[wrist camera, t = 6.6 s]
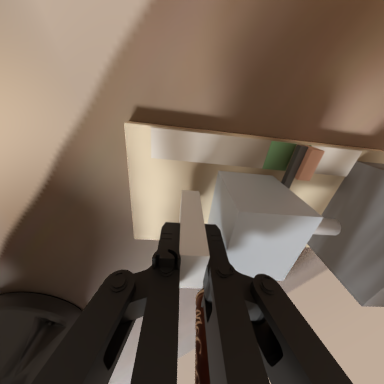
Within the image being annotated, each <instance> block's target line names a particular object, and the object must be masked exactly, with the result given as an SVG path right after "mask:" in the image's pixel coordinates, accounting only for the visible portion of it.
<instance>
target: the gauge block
mask: <svg viewBox="0 0 384 384" xmlns="http://www.w3.org/2000/svg"><path fill="white" fill-rule="evenodd" d="M307 150H308V146H305V145H297V146H296V148H295V150H294V153H293V155H292V157H291V160H290V162H289V165H288V167H287V169H286V172H285V174H284V176H283V179H282V181H281V182H280V181H279V180H277V179H276V178H275V177H274V176H271V175H260V174H249V173H238V172H227V171H218V175H217V180H216V185H215V189H214V194H213V199H212V204H211V209H210V214H209V219H208V224H216V225H217V226H218V228H219V229H220V231H221V235H222V238H223V242H224V245H225V249H226V253H227V256H228V260H229V262H230V264H231V265H232V266H233V267H234V269H235V270H236V271H238V272H239V273H241V274H244V275H247V276H250V277H253V278H254V277H255V275H257V274H266V275H269V276H270V277H272V278H273V279H275V280H276V281H283V280H284V279H285V277H286V275H287V274H288V272H289V271H290V269H291V268H292V266H293V265H294V263H295V261H296V260H297V258H298V257H299V255H300V254H301V252H302V251H303V249H304V247H305V246H306V244H307V243H308V241H309V240H310V238H311V237H312V235H313V234H317V235H338V234H339V233H340V231H341V225H340V223H339V222H338V221H337V220H335V219H329V218H324V217H323V216H321V215H320V214H319V213H318V212H316V211H315V210H314V209H313V208H312V207H310V206H309V205H308V204H307V203H305V202H304V201H303V200H302V199H301V198H299V197H298V196H297V195H296V194H294V193H293V192H292V191H291V190H290V186H291V184H292V182H293V180H294V178H295V176H296V173H297V171H298V169H299V167H300V165H301V163H302V160H303V158H304V156H305V154H306V152H307Z"/></svg>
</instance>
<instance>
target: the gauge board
mask: <svg viewBox="0 0 384 384" xmlns="http://www.w3.org/2000/svg"><path fill="white" fill-rule="evenodd" d="M124 128H125V140H126V151H127V163H128V174H129V186H130V197H131V209H132V221H133V232H134V239H145V240H159V239H160V234H161V229H162V226H163V225H164V224H165V222H175V223H179V217H180V205H181V194H182V190H190V191H199V193H200V199H201V205H202V212H203V218H204V224H208V219H209V214H210V209H211V204H212V199H213V194H214V189H215V185H216V180H217V175H218V171H227V172H238V173H249V174H260V175H271V176H274V177H275V178H276V179H277V180H279V181H280V182H281V181H282V179H283V176H284V174H285V171H286V169H287V166H288V164H289V162H290V159H291V157H292V155H293V152H294V150H295V147H296V145H297V144H300V145H309V146H312V147H314V148H317V149H320V150H323V151H325V152H324V154H323V156H322V158H321V160H320V162H319V164H318V166H317V168H316V170H315V172H314V174H313V176H312V177H311V179H310V181H304V180H297V179H296V178H294V180H293V182H292V184H291V186H290V190H291V191H292V192H293V193H294V194H296V195H297V196H298V197H299V198H301V199H302V200H303V201H304V202H305V203H307V204H308V205H309V206H310V207H312V208H313V209H314V210H315V211H316V212H318V213H319V214H320V215H321V216H323V217H324V218H329V219H335V220H337V221H338V222H339V223H340V225H341V231H340V233H339V234H338V235H317V234H313V235H312V237H311V238H310V240H309V241H308V243H307V244H306V246H305V247H309V248H311V249H312V250H313V251H314V252H315V254H316V255H317V256H318V257H319V258H320V259H321V260H322V262H323V263H324V264H325V265H326V266H327V267H328V268H329V270H330V271H331V272H332V273H333V274H334V275H335V276H336V278H337V279H338V280H339V281H340V282H341V283H342V284H343V286H344V287H345V288H346V289H347V290H348V291H349V292H350V294H351V295H352V296H353V297H354V298H355V299H356V300H357V301H358V303H359V304H360V305H361V306H376V307H378V306H379V307H384V151H382V150H377V149H368V148H359V147H351V146H342V145H333V144H324V143H316V142H307V141H298V140H290V139H281V138H272V137H263V136H255V135H246V134H237V133H228V132H220V131H211V130H202V129H194V128H185V127H176V126H167V125H159V124H150V123H141V122H132V121H128V122H125V123H124Z"/></svg>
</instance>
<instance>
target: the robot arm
mask: <svg viewBox="0 0 384 384" xmlns="http://www.w3.org/2000/svg"><path fill="white" fill-rule="evenodd" d="M202 287H204V295H203V298H202V302H201V307H204V318H205V329H206V340H207V351H208V362H209V374H210V384H270V383H269V380H270V382H271V384H353V383H352V382H351V380H350V379H349V378H348V376H346V374H345V372H344V371H343V370H342V368H341V367H340V366H339V364H338V363H337V362H336V360H335V359H334V358H333V356H332V355H331V354H330V352H329V351H328V350H327V348H326V347H325V345H324V344H323V343H322V341H321V340H320V339H319V337H318V336H317V335H316V333H315V332H314V331H313V329H312V328H311V327H310V325H309V324H308V323H307V321H306V320H305V319H304V317H303V316H302V315H301V313H300V312H299V311H298V309H297V308H296V306H295V305H294V304H293V302H292V301H291V300H290V298H289V297H288V296H287V294H286V293H285V292H284V290H283V289H282V288H281V286H280V285H279V284H278V283H277V282H276V280H275V279H273V278H272V277H270V276H269V275H266V274H257V275H255V277H254V278H253V277H250V276H247V275H244V274H241V273H239V272H238V271H236V270H235V269H234V267H233V266H232V265H231V264H230V262H229V260H228V256H227V253H226V249H225V245H224V242H223V238H222V235H221V231H220V229H219V228H218V226H217V225H216V224H204V218H203V212H202V205H201V199H200V193H199V191H190V190H182V194H181V205H180V217H179V223H175V222H165V224H164V225H163V226H162V229H161V234H160V239H159V245H158V250H157V251H156V252H155V253H154V255H153V257H152V266H151V267H150V268H148V269H147V270H144V271H142V272H138V273H135V274H133V273H132V272H130V271H128V270H119V271H116V272H114V273H112V274H110V275H109V276H108V277H107V278H106V279H105V281H104V282H103V284H102V285H101V286H100V288H99V289H98V291H97V292H96V293H95V295H94V296H93V298H92V299H91V300H90V302H89V303H88V305H87V306H86V307H85V309H84V310H83V312H82V311H81V310H80V309H79V308H77V307H76V306H74V305H72V304H70V303H68V302H66V301H63V300H61V299H58V298H55V297H51V296H47V295H42V294H35V293H7V294H2V295H0V384H108V382H109V380H110V378H111V375H112V373H113V371H114V369H115V366H116V364H117V362H118V359H119V357H120V355H121V353H122V350H123V348H124V346H125V343H126V341H127V339H128V336H129V334H130V332H131V330H132V327H133V325H134V323H135V320H136V319H137V318H140V317H142V316H143V321H142V326H141V332H140V337H139V342H138V347H137V352H136V358H135V363H134V368H133V373H132V378H131V384H177V356H178V320H179V288H202ZM268 378H269V379H268Z"/></svg>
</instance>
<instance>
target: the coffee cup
mask: <svg viewBox="0 0 384 384" xmlns="http://www.w3.org/2000/svg"><path fill="white" fill-rule="evenodd" d="M203 295H204V289H202V290H201V291H200V292H199V293H198V294H197V296H196V306H197V307H196V355H195V356H196V360H195V384H210V374H209V362H208V351H207V340H206V329H205V318H204V307H201V302H202V298H203Z"/></svg>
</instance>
